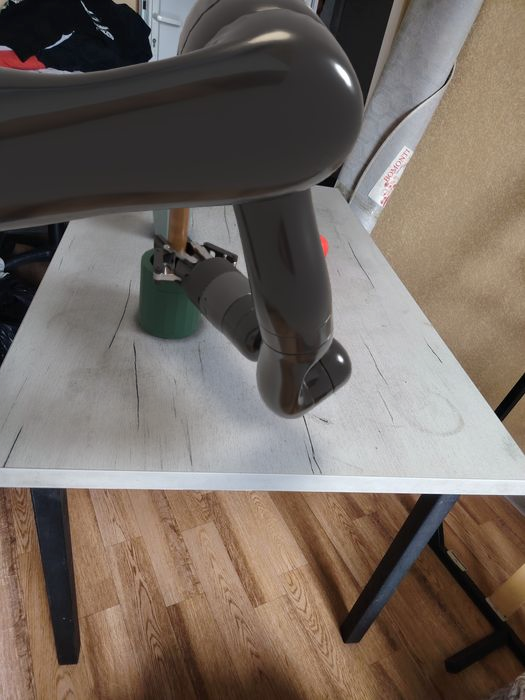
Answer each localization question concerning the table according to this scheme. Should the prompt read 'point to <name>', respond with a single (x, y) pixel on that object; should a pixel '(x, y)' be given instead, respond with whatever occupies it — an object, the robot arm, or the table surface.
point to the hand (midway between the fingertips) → (167, 239)
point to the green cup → (164, 305)
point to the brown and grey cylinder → (178, 228)
